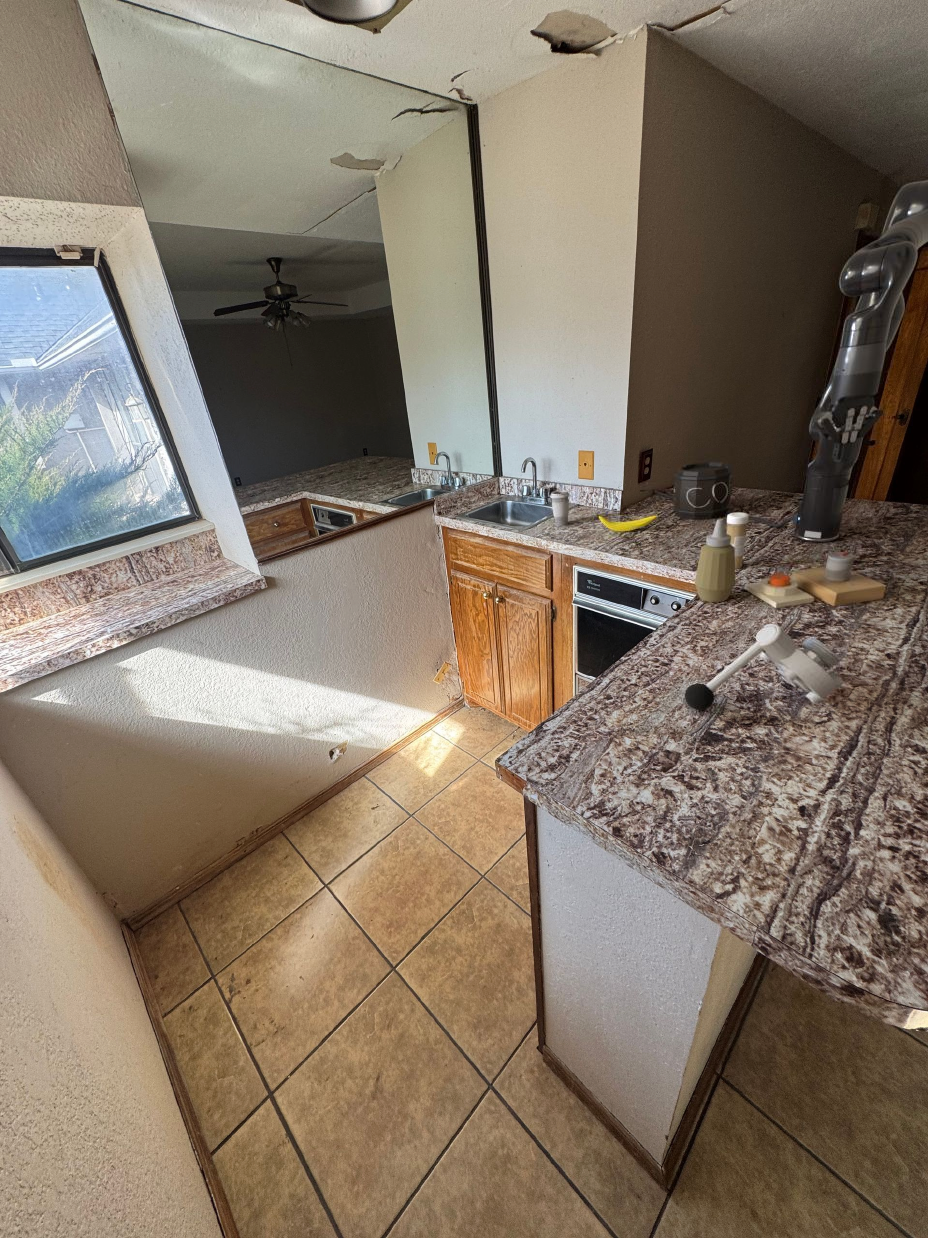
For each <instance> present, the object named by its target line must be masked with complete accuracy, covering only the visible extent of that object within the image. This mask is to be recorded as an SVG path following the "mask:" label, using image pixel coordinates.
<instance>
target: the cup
mask: <svg viewBox="0 0 928 1238" xmlns="http://www.w3.org/2000/svg"><path fill="white" fill-rule="evenodd" d="M570 495H571V494H570V492H569V490H566V489H560V490H554V491H552V492H551V493H550V495H549V498H550V499H551V508H552V514H553V515H552V516H553V519H554V525H555V527H565V526H568V525H569V512H570V511H569V510H570V509H569V508H570V507H569V505H570V499H569V497H570Z"/></svg>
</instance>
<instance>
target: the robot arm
mask: <svg viewBox="0 0 928 1238" xmlns="http://www.w3.org/2000/svg"><path fill="white" fill-rule="evenodd" d="M885 219H886V220H885V222H884V225H883V228H882V232H881V234H880V236H879V237H878V238H877V240H874V241H872V242H870V243H869V244H867V245H866V246H864V247H862V248H859V250H857V251H856V252H854V253H853V254H852V255H851V256H850V257H849V258H848V259H847V261H846V262H845V264H844V266H843V267H842V269H841V272H840V275H839V280H838V282H839V283H838V285H839V286H838V287H839V289H840V291H841V293H842V294H843V295H844V296H847V297H850V298H852V297H854V298H855V297H859V296H860V297H859V299H858V302H857V303H856V306H855V309H854V311H853V312H851V313H849V314H848V315H847V317H846V318H845V320H844V324H843V329H842V334H841V339H840V346H839V350H838V353H837V357H836V361H835V364H834V366H833V369H832V372H831V376H830V379H829V381H828V383H827V386H826V388H825V390H824V391H823V392H824V393H823V394H822V396H821V399H820V400H819V403H818V405H817V407H816V408H815V411H814V413H813V415H812V417H811V420H810V423H809V427H808V433H809V436H810V438H811V439H812V440H813V441H814V442H816V443H817V444H818V446H817V452H816V455H815V458H814V459H813V460H811V461H810V462H809V463H808V465H807V469H806V475H805V482H804V486H803V487H804V488H803V494H802V500H800V501H799V504H798V510H797V513H794V514H793V516H792V517H789V518H785V519H784V520H782V521H781V522H780V523H774V522H770V521H768V520H766V519H763V518H759V517H756V516H755V517H754V516H750V515H749V518H748V520H751V521H754V522H755V521H757V522H759V523H763V524H766V525H768V526H770V527H773V528H781V527H783V526H784V525H785V524H787V523H788V522H791V521H792V525H793V526H795V528H794V535H795V537H796V539H798V540H800V541H803V542H809V543H831V542H834V541H837V540H838V539H839V535H840V529H841V524H842V519H843V514H844V509H845V504H846V499H847V495H848V490H849V484H850V480H851V474H852V470H853V467H854V465H855V463H856V462H857V460H858V458H859V455H860V451H861V449H862V444H863V439H864V437H865V436H866V435H867V433H869V431H870V430H871V429H872V428H873V426H875V424H876V423H877V422H878V421H879V420H880V418H881V417H882V416H883V415H884V410H883V409H878V408H877V407H876V406H875V399H874V396H875V395H877V393H878V390H879V386H880V382H881V376H882V373H883V367H884V362H885V359H886V352H887V351H888V349H889V348H890V346H891V344H892V343H893V341H894V338H895V336H896V334H897V331H898V329H899V326H900V324H901V322H902V319H903V316H904V314H905V311H906V310H905V309H906V308H905V306H906V305H905V298H904V294H903V290H904V289H905V287H906V285H907V283H908V281H909V279H910V277H911V275H912V274H913V271H914V269H915V266H916V263H917V260H918V250H919V248H921V247H922V246H923V245H925V244H926V243H928V179H926V180H920V181H914V182H909V183H906V184H905V185H904V184H903V186H902V187H901V188H900V189H899V190H898V192H897V193H896V194H895V197H894V198H893V200H892V203H891V206H890V208H889V211H888V213H887V216H886V218H885ZM657 491H658V490H656V491H655V492H654V493H655V494H658V495H661V496H663V497H665V498H669V499H671V500H674V496H673V495H669V494H666V493H665V492H664V493H663V492H661V491H659V492H657ZM731 513H732V512H729V511H727V512H725V513H724V516H725V515H726V516H728V514H731Z"/></svg>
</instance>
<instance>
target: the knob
mask: <svg viewBox="0 0 928 1238" xmlns="http://www.w3.org/2000/svg"><path fill="white" fill-rule="evenodd" d="M855 556H856V555H854V554H853V553H851V552H850V551H848V550H847V551H835V552H830V553H828V555H827V559H826V564H825V566H826V569H825V574H824V578H825V579H827V580H830V581H835V582H844V581H848V580H849V579H850V576H851V571H853V566H854V562H855Z"/></svg>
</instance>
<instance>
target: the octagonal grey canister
mask: <svg viewBox="0 0 928 1238" xmlns="http://www.w3.org/2000/svg"><path fill="white" fill-rule="evenodd" d="M734 473H735V469H734V468H732V464H730V463H728V462H724V461H702V462H691V463H688V464H684V465H681V466H680V467H679V468H678V469H677V471H676V473H675V474H674V475H673V477H674V478H675V481H674V486H673V497H674V499H673V502H674V504H673V507H672V510H673V511H675V515H676V516H678V517H679V518H681V519H688V520H694V521H695V520H712V519H715V518H719V517H723V516H725V514H724V513H725V512H728V510H729V509H730V507H731V506H732V504H731V503H730V501H731V497H732V491H733V474H734Z"/></svg>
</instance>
